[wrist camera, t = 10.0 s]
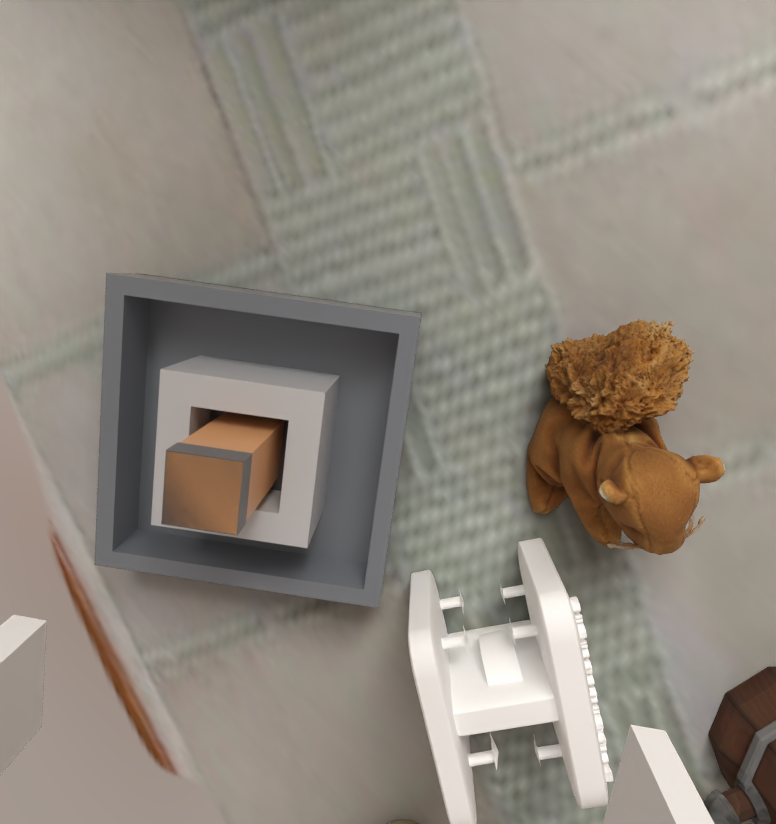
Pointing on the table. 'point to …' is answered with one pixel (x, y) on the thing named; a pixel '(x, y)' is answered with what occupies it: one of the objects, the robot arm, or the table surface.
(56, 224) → the table surface
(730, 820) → the mug
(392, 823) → the beige bowl
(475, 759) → the cable organizer
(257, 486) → the plug
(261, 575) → the box
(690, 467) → the stuffed squirrel
